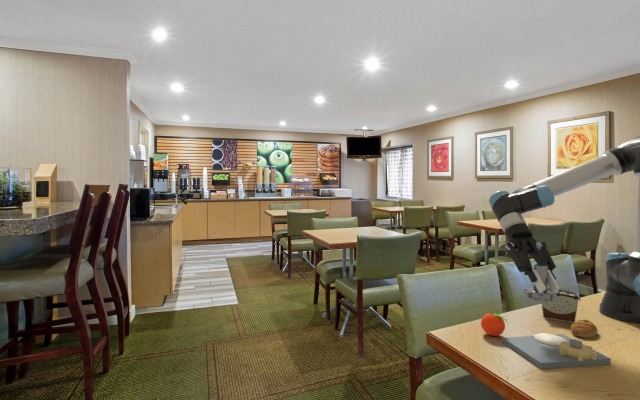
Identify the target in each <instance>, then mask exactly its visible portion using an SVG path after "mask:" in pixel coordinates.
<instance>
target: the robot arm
mask: <svg viewBox="0 0 640 400" xmlns="http://www.w3.org/2000/svg"><path fill="white" fill-rule="evenodd" d="M629 172H633V175H634V176H635V177H637V178H638V197H637V207H636V208H637V211H636V224H635V225H636V226H635V243H634V250H633V251H632V252H608V253H607V255H606V260H605V293H604V294H603V297H602V299H601V302H600V303H599V310H598V311H599V312H600V313H601V314H602V315H604V316H606V317H610V318H613V319H617V320H621V321H626V322H633V323H640V135H639V136H635V137H634V138H631V139H629V140H627V141H625V142H623V143H621V144H619V145H617V146H615V147H613V148H610V149H609V150H608V149H607V150H606V151H604V152H603V153H602V155H600V156H599V157H597V158H593V159H591V160H588V161H586V162H583V163H581V164H579V165H575V166H573V167H571V168H568V169H566V170H563V171H561V172H559V173H556V174H554V175H552V176H548V177H546V178H544V179H541V180H539V181H536V182H533V183H531V184H529V185H527V186H524V187H519V188H516V189H515V190H514V191H512V192H511V193H509V192H508V191H507V190H498V191H496V192H494V193H492V194H491V195H490V197H489V199H488V203H489V205H490V208H491V211H492V212H493V214H494V215H495V218H496V219H497V221H498V223H499V225H500V228H501V230H502V231H503V233H504V235H505V237H506V238H507V241H508V242H507V243H506V244H505V246H504V248H503V249H504V250H505V251H506V252H507V253H508V254H509V256H510V258H511V260H512V262H513V263H514V264H515V266H516V268H517V270H518V272H520V273H523V274H524V275H525V276H528V278H529V281H530V282H532V283H533V285H534V284H535V286H536V288H537V290H538V292H539V293H543V292H544V291H545V290H546V287H545V285H544V283H543V282H542V280H541V278H540V276H539V274H538V272H537V271H536V270H534V267H533V266H532V262H531V259H530V257H531V258H533V260H534V261H535V262H536V263H535V264H541V265H546V266H548V278H547V286H548V288H550V289H551V291H552V293H556V292H557V291H558V290H559V289H561V287H560V286H559V284H558V283H557V281H556V280H557V278H556V276H555V274H554V272H553V271H554V270H555V269H556V267H557V265H556V264H555V262H554V260H553V258H552V255H551V254H550V253H549V251H548V249H547V243H546V242H544V241H542V242H538V241H537V240H536V239H535V238H534V237H533V233H532V231H531V229H530V227H529V225H528V224H527V221H526V220H525V218H524V216H522V214H525V213H528V212H529V213H530V212H533V211H535V210H539V209H543V208H544V209H545V208H546V207H549V206H552V205H554V204H555V201H556V200H555V197H557V196H560V195H563V194H565V193H567V192H568V193H569V192H570V191H573V190H575V189H578V188H581V187H583V186H587V185H588V184H591V183H594V182H596V181H599V180H602V179H604V178H607V177H609V176H612V175H614V176H620V175H622V174H626V173H629Z"/></svg>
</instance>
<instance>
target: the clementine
mask: <svg viewBox="0 0 640 400" xmlns="http://www.w3.org/2000/svg"><path fill="white" fill-rule="evenodd" d="M505 322H506V323H505ZM506 324H507V325H509V323H508V321H507V319H506V318H505V317H503V316H502V315H500V314H497V313H494V312H489V313H486V314H484V315H483V316H482V318H481V320H480V326H481V328H482V331H483V332H484V333H485V334H487V335H489V336H492V337H497V336H500V335H502V334H503V332H504V331H505V329H506Z"/></svg>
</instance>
